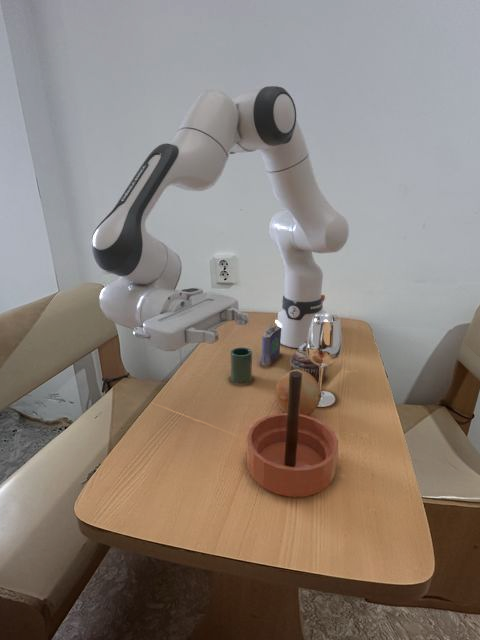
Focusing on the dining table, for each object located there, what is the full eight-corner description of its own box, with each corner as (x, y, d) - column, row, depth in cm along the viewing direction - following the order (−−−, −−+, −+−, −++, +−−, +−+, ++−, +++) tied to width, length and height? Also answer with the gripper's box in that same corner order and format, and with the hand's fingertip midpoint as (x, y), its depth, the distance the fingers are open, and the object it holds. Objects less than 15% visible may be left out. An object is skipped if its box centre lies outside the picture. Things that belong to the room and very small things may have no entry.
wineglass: (314, 386, 92) (321, 309, 84) (342, 398, 87) (352, 317, 78) (294, 398, 87) (300, 317, 79) (323, 411, 82) (331, 326, 74)
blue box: (268, 368, 101) (269, 331, 97) (258, 365, 102) (258, 329, 98) (281, 355, 108) (283, 320, 104) (272, 353, 110) (273, 319, 105)
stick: (287, 458, 67) (292, 369, 60) (297, 462, 66) (304, 372, 59) (282, 464, 66) (287, 374, 58) (292, 468, 65) (299, 378, 57)
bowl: (272, 429, 76) (273, 404, 74) (346, 456, 69) (350, 429, 66) (230, 476, 64) (230, 448, 62) (315, 514, 57) (318, 484, 54)
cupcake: (300, 366, 102) (302, 332, 98) (333, 376, 97) (337, 340, 93) (282, 379, 95) (283, 343, 91) (316, 391, 90) (319, 353, 86)
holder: (238, 373, 98) (237, 345, 95) (255, 378, 96) (255, 350, 92) (227, 381, 94) (226, 353, 91) (244, 387, 92) (244, 358, 88)
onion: (317, 429, 76) (321, 386, 72) (269, 421, 79) (271, 380, 74) (321, 404, 85) (325, 364, 80) (278, 397, 87) (280, 359, 83)
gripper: (124, 314, 60) (192, 330, 53) (201, 285, 75) (261, 295, 69) (129, 350, 62) (194, 369, 56) (203, 314, 78) (261, 327, 71)
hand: (232, 328), depth 62 cm, fingers open, 8 cm apart
